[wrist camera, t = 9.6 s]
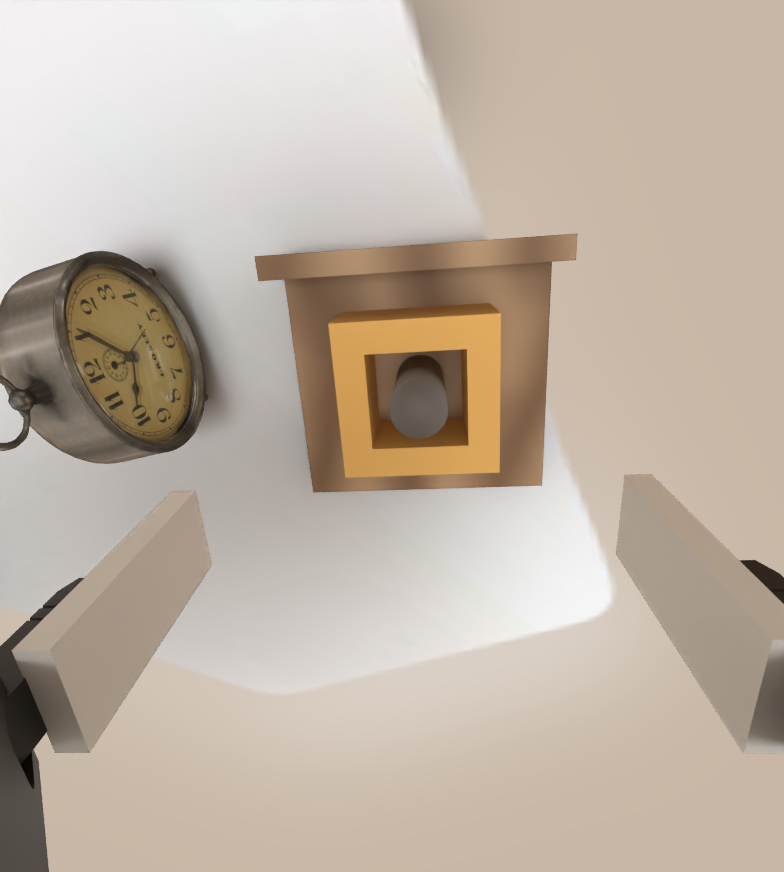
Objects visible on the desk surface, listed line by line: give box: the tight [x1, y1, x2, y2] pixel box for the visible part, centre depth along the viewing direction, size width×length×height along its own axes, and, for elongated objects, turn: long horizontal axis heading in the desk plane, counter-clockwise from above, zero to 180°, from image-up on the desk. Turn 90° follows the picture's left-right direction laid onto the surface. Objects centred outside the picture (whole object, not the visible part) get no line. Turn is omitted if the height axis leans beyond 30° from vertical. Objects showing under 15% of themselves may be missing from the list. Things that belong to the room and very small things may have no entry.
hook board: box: [255, 234, 577, 492], centre depth 30 cm, size 16×16×8 cm
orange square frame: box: [328, 303, 501, 478], centre depth 30 cm, size 9×9×5 cm
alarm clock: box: [0, 251, 208, 464], centre depth 26 cm, size 11×5×16 cm, turn 15°
